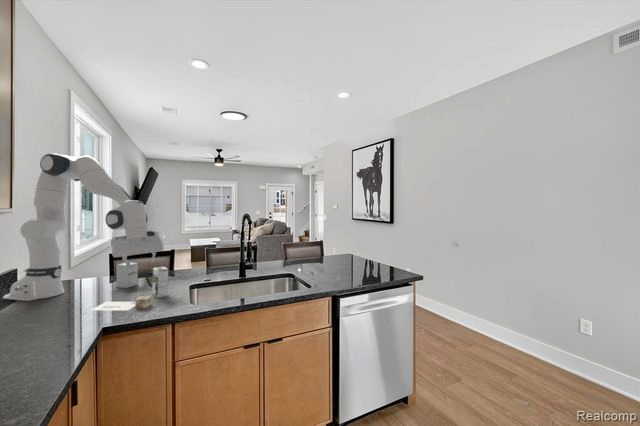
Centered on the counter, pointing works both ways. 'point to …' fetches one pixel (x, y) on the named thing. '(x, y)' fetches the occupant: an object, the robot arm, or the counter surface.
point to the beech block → (143, 302)
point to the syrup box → (160, 282)
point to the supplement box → (126, 275)
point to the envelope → (115, 306)
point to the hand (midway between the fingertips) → (140, 263)
